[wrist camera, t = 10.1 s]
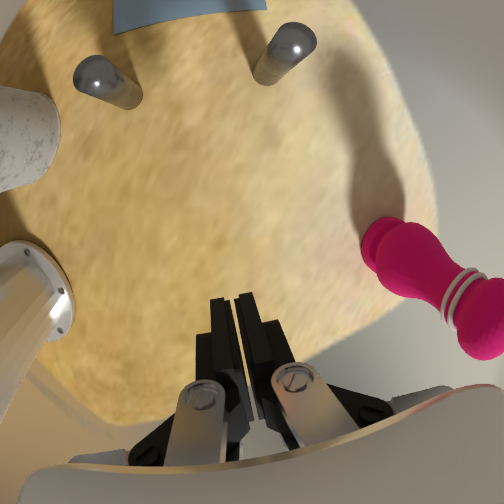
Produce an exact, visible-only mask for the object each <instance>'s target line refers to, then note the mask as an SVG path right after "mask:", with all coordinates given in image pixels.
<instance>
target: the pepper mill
mask: <svg viewBox="0 0 504 504" xmlns="http://www.w3.org/2000/svg"><path fill="white" fill-rule="evenodd" d="M362 257H363V260H364V262H365V264H366V265H367V266H368V267H369V268H370V269H371V270H373V271H374V272H375V273H376V274H377V277H378V279H379V281H380V282H381V284H382V285H383V286H384V287H385V288H386V289H388V290H389V291H391V292H392V293H394V294H397V295H399V296H403V297H408V298H417V299H422V300H424V301H426V302H428V303H430V304H431V305H433V306H434V307H435V308H436V309H437V310H438V311H439V312H440V314H441V320H442V321H443V323H444V324H446V325H448V326H449V328H450V329H451V330H453V331H457V337H458V342H459V344H460V346H461V348H462V349H463V350H464V351H465V353H467V354H468V355H469V356H471V357H473V358H475V359H478V360H483V361H484V360H490V359H493V358H495V357H497V356H499V355H500V354H502V353H503V352H504V279H502V278H491V279H489V280H488V278H487V276H486V275H485V274H484V273H481V272H479V271H478V270H477V269H476V268H467V269H464V268H462V267H460V266H459V265H457V264H456V263H454V261H453V260H452V259H451V258H450V257H449V255H448V254H447V253H446V251H445V249H444V248H443V247H442V245H441V243H440V242H439V240H438V238H437V237H436V236H435V235H434V234H433V233H432V232H431V231H430V230H428V229H427V228H425V227H424V226H422V225H420V224H418V223H414V222H407V223H405V222H403V221H401V220H399V219H397V218H394V217H384V218H381V219H379V220H377V221H376V222H375V223H374V224H372V225H371V227H370V228H369V229H368V230H367V232H366V234H365V236H364V239H363V242H362Z"/></svg>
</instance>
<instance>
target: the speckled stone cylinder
mask: <svg viewBox="0 0 504 504" xmlns="http://www.w3.org/2000/svg"><path fill="white" fill-rule="evenodd" d="M59 139H60V118H59V113H58V110H57V108H56V105H55V104H54V103H53V101H52V100H51V98H49V97H48V96H46V95H45V94H43V93H39V92H31V91H26V90H21V89H17V88H12V87H6V86H1V85H0V193H1V192H4V191H7V190H10V189H13V188H16V187H19V186H24V185H29V184H31V183H33V182H35V181H37V180H38V179H39V178H40V177H41V176H42V175H44V173H45V172H46V171H47V169H48V168H49V167H50V165H51V163H52V161H53V159H54V157H55V155H56V152H57V148H58V145H59Z"/></svg>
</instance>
